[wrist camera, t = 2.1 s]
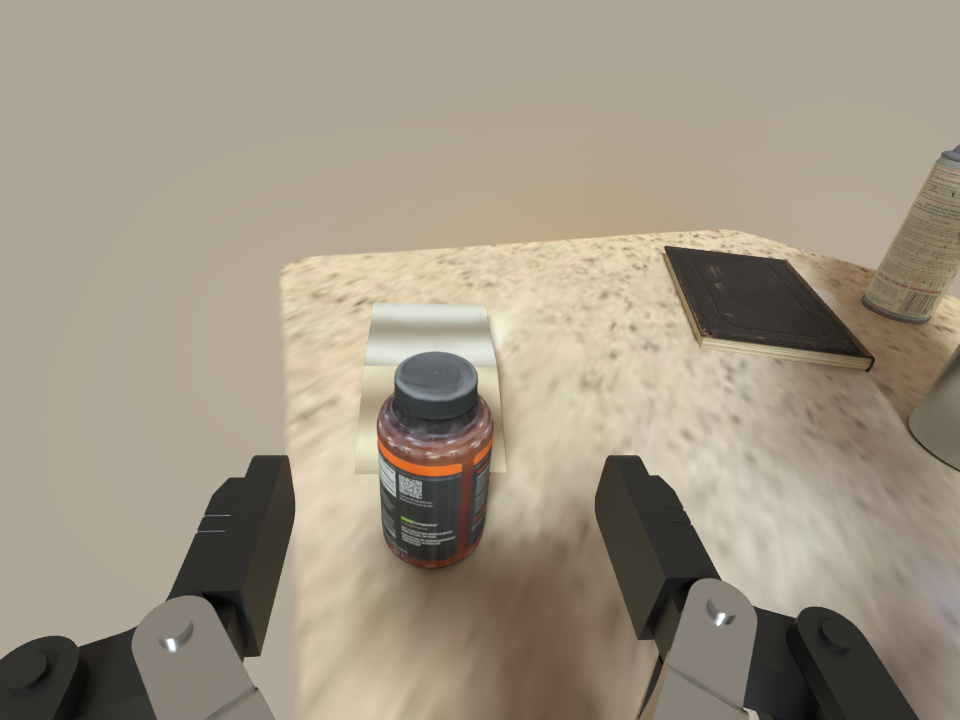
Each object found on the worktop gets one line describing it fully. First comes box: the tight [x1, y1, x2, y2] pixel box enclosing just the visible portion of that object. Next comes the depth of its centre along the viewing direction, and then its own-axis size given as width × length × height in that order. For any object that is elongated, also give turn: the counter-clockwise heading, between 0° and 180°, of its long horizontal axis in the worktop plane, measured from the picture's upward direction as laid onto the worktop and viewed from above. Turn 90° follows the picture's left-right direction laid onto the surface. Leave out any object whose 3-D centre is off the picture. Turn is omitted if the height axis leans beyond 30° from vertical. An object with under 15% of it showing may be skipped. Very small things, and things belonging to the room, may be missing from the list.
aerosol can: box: [862, 145, 960, 324], centre depth 56 cm, size 7×7×20 cm
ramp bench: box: [355, 303, 507, 474], centre depth 42 cm, size 18×10×4 cm, turn 5°
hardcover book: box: [664, 246, 875, 372], centre depth 59 cm, size 16×23×2 cm
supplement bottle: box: [377, 351, 494, 568], centre depth 28 cm, size 6×6×11 cm
